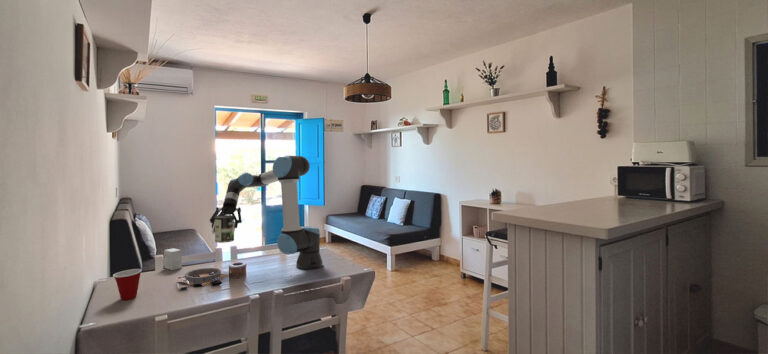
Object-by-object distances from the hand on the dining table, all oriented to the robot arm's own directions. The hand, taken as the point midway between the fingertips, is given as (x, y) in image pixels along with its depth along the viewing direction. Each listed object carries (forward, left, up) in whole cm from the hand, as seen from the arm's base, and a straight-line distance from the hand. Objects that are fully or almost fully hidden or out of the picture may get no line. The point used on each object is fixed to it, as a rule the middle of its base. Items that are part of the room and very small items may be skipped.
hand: (222, 232), depth 215 cm
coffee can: (+1, -3, -6) cm, 6 cm away
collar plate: (-3, +18, -21) cm, 28 cm away
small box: (+27, +8, -21) cm, 35 cm away
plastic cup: (+9, +50, -21) cm, 55 cm away
